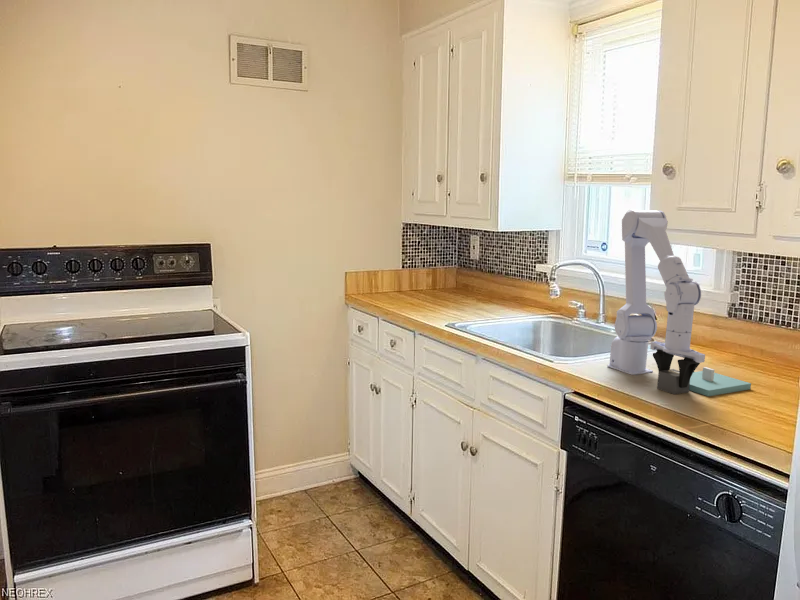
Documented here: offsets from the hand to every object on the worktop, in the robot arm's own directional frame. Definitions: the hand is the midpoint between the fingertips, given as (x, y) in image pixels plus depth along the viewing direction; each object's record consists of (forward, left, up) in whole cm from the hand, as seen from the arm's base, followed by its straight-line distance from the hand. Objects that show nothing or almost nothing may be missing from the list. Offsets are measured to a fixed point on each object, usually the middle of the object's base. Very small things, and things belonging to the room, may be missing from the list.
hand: (673, 383), depth 160 cm
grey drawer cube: (0, 0, -2) cm, 2 cm away
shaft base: (0, +12, -2) cm, 12 cm away
